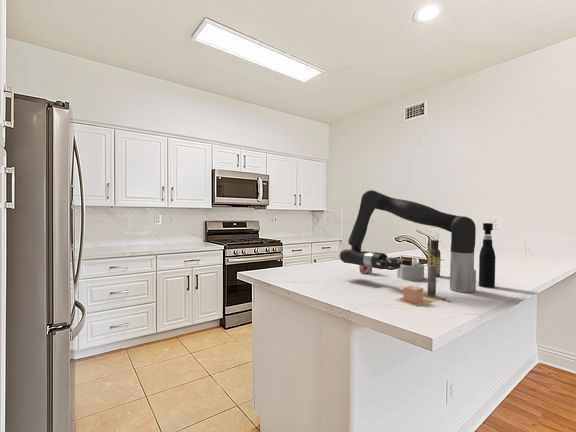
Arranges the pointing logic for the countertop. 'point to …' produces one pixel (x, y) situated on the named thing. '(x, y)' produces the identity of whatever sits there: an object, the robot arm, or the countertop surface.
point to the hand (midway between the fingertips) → (405, 264)
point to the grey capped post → (431, 293)
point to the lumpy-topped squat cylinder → (411, 271)
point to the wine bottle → (487, 259)
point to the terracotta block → (413, 294)
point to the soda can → (365, 268)
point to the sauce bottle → (434, 256)
